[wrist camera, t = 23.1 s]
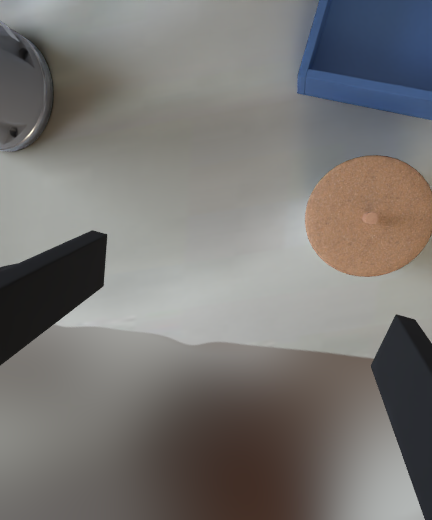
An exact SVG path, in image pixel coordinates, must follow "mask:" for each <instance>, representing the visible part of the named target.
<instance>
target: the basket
mask: <svg viewBox="0 0 432 520" xmlns="http://www.w3.org/2000/svg"><path fill="white" fill-rule="evenodd" d="M297 93H298V94H303V95H308V96H313V97H318V98H323V99H328V100H333V101H338V102H343V103H348V104H353V105H358V106H363V107H368V108H373V109H378V110H383V111H388V112H393V113H398V114H403V115H408V116H413V117H419V118H424V119H429V120H432V0H319V3H318V7H317V10H316V14H315V17H314V21H313V24H312V28H311V31H310V35H309V38H308V41H307V45H306V48H305V52H304V55H303V59H302V62H301V66H300V69H299V73H298V92H297Z"/></svg>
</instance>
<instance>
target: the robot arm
mask: <svg viewBox="0 0 432 520" xmlns="http://www.w3.org/2000/svg"><path fill="white" fill-rule="evenodd" d="M0 24H1V25H2V26H1V25H0V151H7V152H9V151H17V150H21V149H23V148H25V147H27V146H29V145H30V144H32V143H33V142H34V141H35V140H36V139H37V138H38V137H39V136H40V134H41V133H42V132H43V130H44V128H45V127H46V124H47V122H48V120H49V117H50V114H51V109H52V103H53V85H52V78H51V74H50V71H49V68H48V65H47V63H46V61H45V59H44V57H43V55H42V54H41V52H40V51H39V50H38V48H37V47H36V46H35V45H34V44H33V43H32V42H31V41H29V40H28V39H27V38H25V37H23V36H22V35H20V34H19V33H17V32H16V31H14V30H12V29H10V28H8V27H7V25H6V24H5V23H3V22H2V21H0ZM106 245H107V234H103V233H100V232H96V231H93V230H92V231H90V232H88V233H85V234H83V235H81V236H79V237H77V238H74V239H72V240H70V241H68V242H65V243H63V244H61V245H59V246H56V247H54V248H52V249H50V250H47V251H45V252H43V253H41V254H39V255H36V256H34V257H32V258H30V259H27V260H25V261H23V262H21V263H18V264H13V265H8V266H4V267H0V365H1V364H3V363H4V362H5V361H7V360H8V359H9V358H11V357H12V356H13V355H14V354H16V353H17V352H18V351H20V350H21V349H22V348H24V347H25V346H26V345H27V344H29V343H30V342H31V341H33V340H34V339H35V338H37V337H38V336H39V335H40V334H42V333H43V332H44V331H46V330H47V329H48V328H50V327H51V326H52V325H53V324H55V323H56V322H57V321H59V320H60V319H61V318H63V317H64V316H65V315H66V314H68V313H69V312H70V311H72V310H73V309H74V308H76V307H77V306H78V305H79V304H81V303H82V302H83V301H85V300H86V299H87V298H89V297H90V296H91V295H92V294H94V293H95V292H96V291H98V290H99V289H100V288H102V287H103V285H104V272H105V258H106ZM371 368H372V371H373V374H374V376H375V380H376V382H377V385H378V388H379V391H380V394H381V397H382V399H383V402H384V405H385V408H386V411H387V413H388V416H389V419H390V422H391V425H392V428H393V431H394V433H395V436H396V438H397V442H398V445H399V447H400V450H401V453H402V456H403V459H404V462H405V464H406V467H407V470H408V473H409V476H410V478H411V481H412V484H413V487H414V490H415V493H416V495H417V498H418V501H419V504H420V507H421V510H422V512H423V515H424V518H425V520H432V343H431V342H430V340H429V339H428V338H427V336H426V335H425V333H424V332H423V330H422V329H421V327H420V326H419V325H418V323H417V322H416V320H415V319H411V318H407V317H404V316H400V315H395V317H394V319H393V321H392V323H391V326H390V328H389V330H388V332H387V334H386V336H385V338H384V340H383V342H382V344H381V346H380V348H379V350H378V352H377V354H376V356H375V358H374V361H373V362H372V364H371Z"/></svg>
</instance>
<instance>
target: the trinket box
mask: <svg viewBox="0 0 432 520" xmlns="http://www.w3.org/2000/svg"><path fill="white" fill-rule="evenodd" d="M305 225H306V232H307V235H308V239H309V241H310V243H311V245H312V247H313V249H314V250H315V251H316V253H317V254H318V255H319V257H320V258H321V259H322V260H323V261H324V262H326V263H327V264H328V265H330V266H331V267H333V268H335V269H337V270H339V271H341V272H343V273H346V274H349V275H355V276H365V277H370V276H379V275H383V274H387V273H390V272H393V271H395V270H398V269H400V268H401V267H403V266H405V265H406V264H408V263H409V262H410V261H412V260H413V259H414V258H415V257H416V256H417V255H418V254H419V253H420V252H421V251H422V250H423V248H424V247H425V245H426V244H427V242H428V240H429V238H430V236H431V234H432V191H431V189H430V187H429V185H428V183H427V182H426V180H425V179H424V178H423V176H422V175H421V174H420V173H419V172H418V171H417V170H416V169H414V168H413V167H411V166H410V165H408V164H407V163H405V162H402V161H400V160H398V159H395V158H391V157H388V156H379V155H373V156H363V157H357V158H354V159H351V160H348V161H346V162H344V163H342V164H340V165H338V166H336V167H335V168H333V169H332V170H331V171H329V172H328V173H327V174H326V175H325V176H324V177H323V178H322V179H321V180H320V181H319V183H318V184H317V185H316V186H315V188H314V190H313V192H312V193H311V195H310V198H309V201H308V203H307V208H306V213H305Z"/></svg>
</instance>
